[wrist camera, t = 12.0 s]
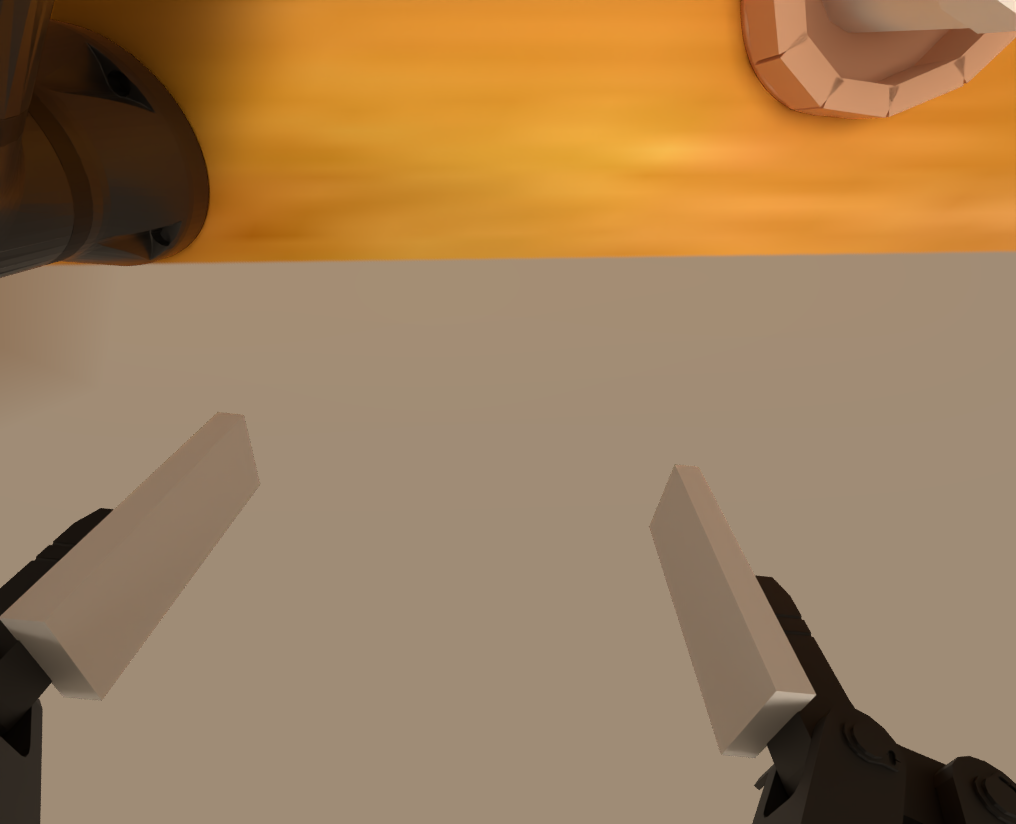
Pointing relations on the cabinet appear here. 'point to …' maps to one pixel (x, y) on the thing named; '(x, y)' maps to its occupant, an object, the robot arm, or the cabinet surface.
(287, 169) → the cabinet surface
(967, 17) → the foam cup
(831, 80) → the bowl
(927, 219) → the cabinet surface
